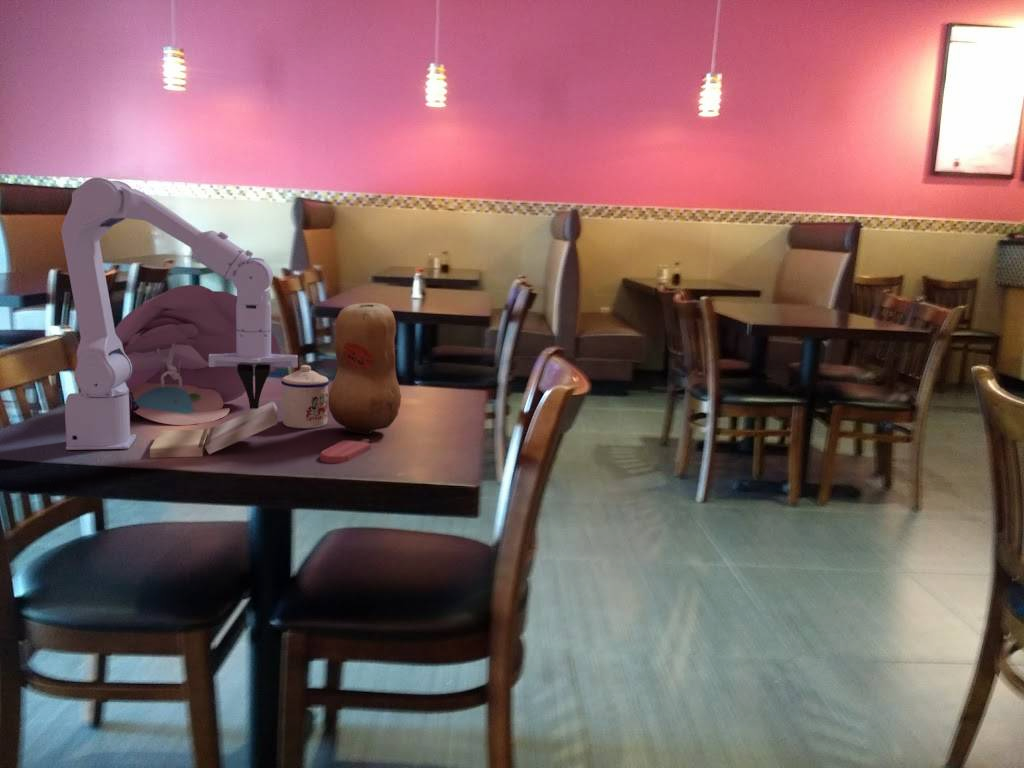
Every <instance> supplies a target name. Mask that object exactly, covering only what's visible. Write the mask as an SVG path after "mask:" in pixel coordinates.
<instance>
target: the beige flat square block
mask: <svg viewBox="0 0 1024 768" xmlns="http://www.w3.org/2000/svg"><path fill="white" fill-rule="evenodd" d="M276 425H278V407H277V404H276V403H275V400H272V401H271V402H267V403H266V404H263V405H262V406H258V409H252V410H250V411H248V412H245V413H244V414H241V415H238V416H237V417H234V418H232V419H230V420H228V421H225V422H222V423H221V424H218V425H216V426H212V427H211V428H210V430H209V435H208V438H207V441H206V444H205V450H206V451H207V453H208V455H211V454H213V453H215V452H217V451H220V450H222V449H225V448H226V447H229V446H231V445H234V444H235V443H239V442H240V441H243V440H245V439H246V438H249V437H251V436H254V435H255V434H259V433H260V432H262V431H265V430H267V429H270V428H271V427H273V426H276Z"/></svg>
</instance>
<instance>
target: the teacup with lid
mask: <svg viewBox="0 0 1024 768" xmlns="http://www.w3.org/2000/svg"><path fill="white" fill-rule="evenodd" d="M299 368H300V369H299V370H296V371H294V372H292V373H291V374H289V375H285V376H284V377H282V378H281V385H282V424H283V425H284V426H286V427H289V428H294V429H316V428H320V427H324V426H326V425H327V423H328V410H329V409H328V408H329V384H330V381H329V379H328V377H327V376H324V375H321V374H319V373H318V372H316V371H314V370H312V367H311V366H310V365H309V364H308V365H307V364H304V365H301V366H299Z"/></svg>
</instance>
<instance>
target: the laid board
mask: <svg viewBox="0 0 1024 768" xmlns="http://www.w3.org/2000/svg"><path fill="white" fill-rule="evenodd" d="M209 432H210V430H209V429H208V428H205V429H180V430H179V429H175V430H174V429H167V430H165V429H164V430H159V432H158V434H157V435H156V437H155V439H154V441H153V442H152V444H151V446H150V448H149V458H155V459H156V458H187V457H191V458H192V457H193V458H194V457H196V458H197V457H203V456H204V454H205V450H206V448H205V444H206V441H207V438H208V435H209Z"/></svg>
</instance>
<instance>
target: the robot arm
mask: <svg viewBox="0 0 1024 768" xmlns="http://www.w3.org/2000/svg"><path fill="white" fill-rule="evenodd" d="M126 219H130V220H137V221H138V220H139V221H144V222H147V223H148V224H150V225H152V226H154V227H156V228H157V229H159V230H161V231H162V232H164V233H165V234H167V235H169V236H171V237H172V238H174V239H176V240H177V241H179V242H181V243H183V244H184V245H186V246H188V247H189V248H190V249H191V253H192V256H193V260H195V261H197V262H198V263H200V264H201V265H203V266H205V267H207V268H208V269H209V270H210V271H213V272H214V273H216V274H217V275H219V276H220V277H222V278H223V279H225V280H226V281H227V280H228V281H230V280H231V281H232V283H233V286H234V288H235V289H236V296H237V303H236V353H231V354H209V367H216V366H238V368H237V369H238V370H237V372H238V374H239V376H240V378H241V380H242V382H243V385H244V387H245V390H246V392H245V393H246V395H247V399H248V403H249V409H252V410H254V409H258V408H259V407H260V406H259V405H260V404H259V403H260V398H261V395H262V391H263V389H264V386H265V383H266V381H267V379H268V377H269V375H270V373H271V372H270V367H277V368H278V367H279V368H280V367H281V368H282V367H284V368H287V367H289V368H290V367H291V368H298V366H299V365H298V364H299V363H298V360H299V358H298V355H297V354H281V353H280V354H271V331H272V303H271V298H272V295H271V294H272V293H271V288H270V287H271V285H272V283H273V280H274V273H273V270H272V268H271V267H270V265H269V264H268V263H267V262H266V261H265V260H264V259H263V258H260V257H252V256H253V255H254V252H253V251H251V250H249V249H247V250H244V249H243V248H241V247H240V246H238V245H236V244H235V243H234V242H233V241H230V240H229V239H228V238H229V235H228V234H226V232H223V231H219V233H218V232H216V231H215V230H208V231H201V230H199V229H198V228H197V227H195V226H193V224H191V223H189V222H188V221H186V220H185V219H184V218H182V217H180V215H178V214H177V213H176V212H174V211H172V209H170V208H168V207H167V206H165V205H164V204H162V203H161V202H159V201H158V200H156V199H155V198H153V197H152V196H150V195H148V194H146V193H145V192H142V191H140V190H139V189H136V188H133V187H131V186H130V185H129V184H128V183H126V182H122V181H121V180H109V179H107V178H102V177H92V178H89V179H87V180H85V181H84V182H83V183H81V184H80V185H79V186H78V187H77V188H76V189H75V190H74V191H73V192H72V193H71V203H70V206H69V208H68V210H67V213H66V216H65V218H64V220H63V223H62V225H61V237H62V243H63V248H64V255H65V260H66V265H67V271H68V275H69V281H70V286H71V287H70V288H71V292H72V297H73V303H74V309H75V313H76V319H77V325H78V330H79V337H80V340H79V343H78V347H77V350H76V358H77V362H76V363H77V364H76V367H75V370H74V381H75V383H76V385H77V387H78V388H79V389H80V392H77V393H76V392H75V393H73V392H72V393H69V394H67V396H66V398H65V405H64V407H65V408H64V417H65V418H64V420H65V422H64V423H65V439H66V442H65V443H66V446H65V450H68V451H72V450H73V451H75V450H77V451H82V450H84V451H85V450H117V449H119V450H123V449H124V450H125V449H126V450H127V449H129V448H130V447H131V446H132V444H133V442H134V441H135V440H136V438H137V434H135V433H134V434H131V420H130V419H131V418H130V417H131V416H130V413H129V389H128V387H127V386H126V381H127V380H128V379H129V378H130V376H131V374H132V364H131V361H130V360H129V358H128V357H127V356H126V354H125V353H124V350H123V346H122V342H121V341H120V339H119V338H118V337H117V335H116V333H115V328H116V327H115V322H114V317H113V312H112V306H111V301H110V294H109V290H108V283H107V277H106V272H105V266H104V261H103V256H102V254H103V253H102V249H101V242H100V240H101V239H102V238H103V236H104V235H106V234H107V233H108V232H109V230H111V228H113V226H115V225H116V224H119V223H120V222H123V221H124V220H126ZM242 362H247V363H242ZM263 362H265V363H263ZM253 366H255V373H253Z"/></svg>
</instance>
